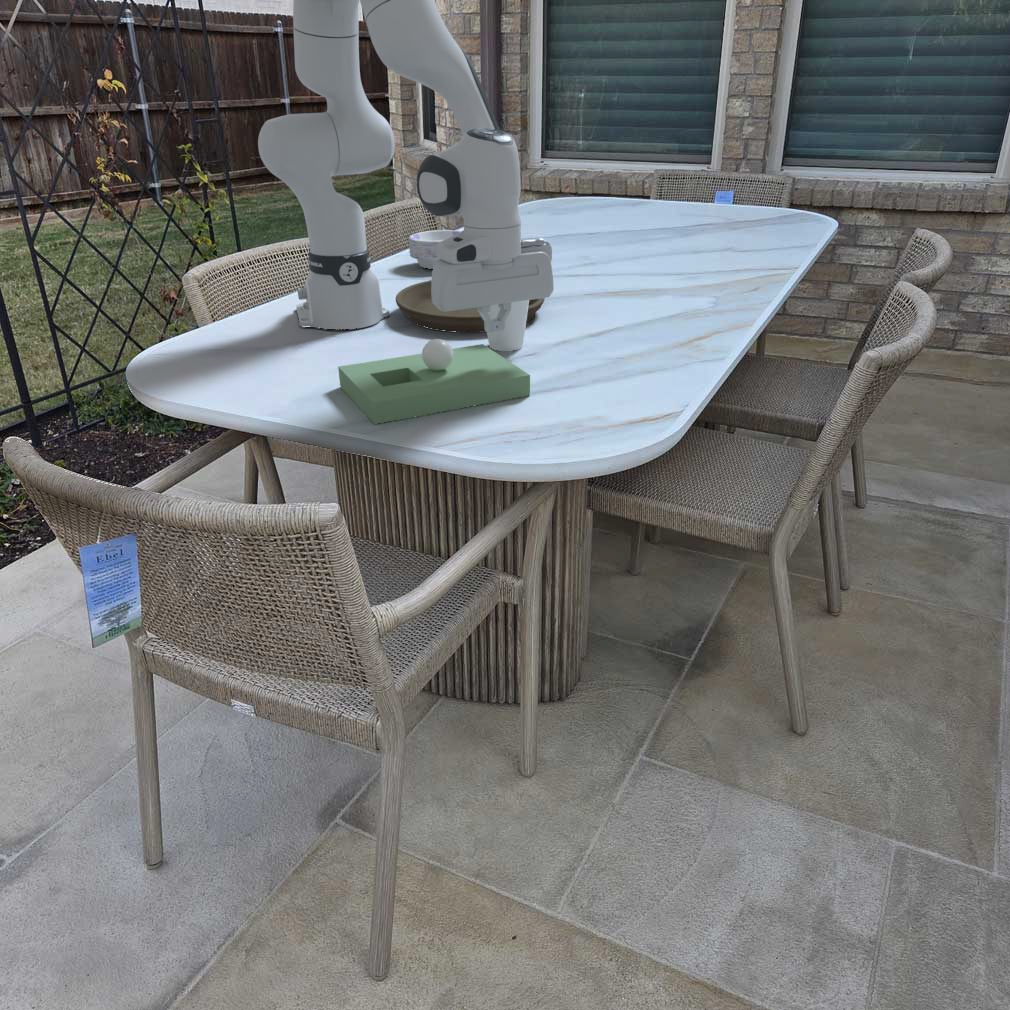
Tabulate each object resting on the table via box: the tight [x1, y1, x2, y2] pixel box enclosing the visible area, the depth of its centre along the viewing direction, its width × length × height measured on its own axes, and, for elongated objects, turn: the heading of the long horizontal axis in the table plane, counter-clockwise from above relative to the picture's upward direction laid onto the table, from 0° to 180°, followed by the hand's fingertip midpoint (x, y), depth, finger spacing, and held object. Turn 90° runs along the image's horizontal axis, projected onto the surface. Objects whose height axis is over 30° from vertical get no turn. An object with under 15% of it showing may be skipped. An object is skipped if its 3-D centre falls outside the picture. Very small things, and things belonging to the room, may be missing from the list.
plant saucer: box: [395, 279, 546, 333], centre depth 178 cm, size 31×31×5 cm
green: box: [337, 343, 531, 425], centre depth 138 cm, size 18×26×4 cm
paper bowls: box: [408, 229, 463, 270], centre depth 217 cm, size 15×15×8 cm
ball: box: [421, 338, 453, 371], centre depth 137 cm, size 5×5×5 cm
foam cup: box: [486, 300, 529, 352], centre depth 157 cm, size 10×9×13 cm
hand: (494, 331), depth 139 cm, fingers closed
